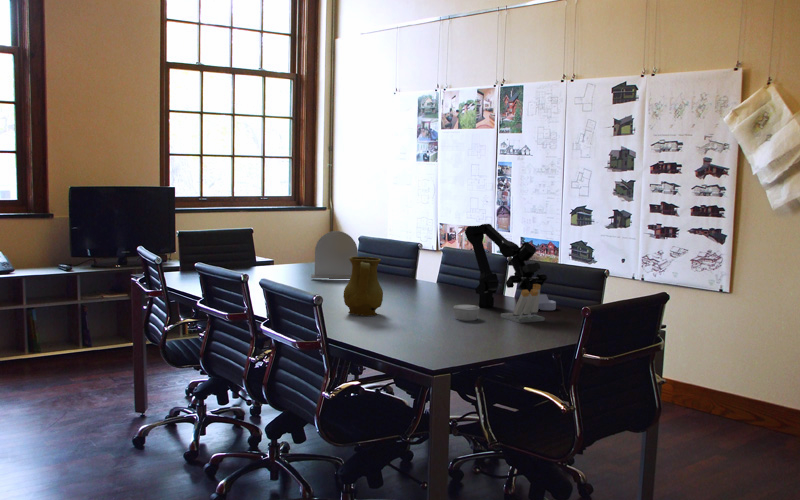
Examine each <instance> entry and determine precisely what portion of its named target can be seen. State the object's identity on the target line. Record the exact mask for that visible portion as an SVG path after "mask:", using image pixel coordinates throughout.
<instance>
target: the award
mask: <svg viewBox="0 0 800 500" xmlns="http://www.w3.org/2000/svg"><path fill="white" fill-rule="evenodd" d="M358 250H359V249H358V247H357V243H356V241H355V240H354V239H353V237H352V236H351V235H349V234H348V233H345V232H344V231H340V230H333V231H329V232H326V233H325V234H323V235H321V237H320V238H319V239H318V241H317V243H316V245H315V247H314V274H311V275H310V277H311V278H329V279H350V278H351V274H352V263H351V261H350V260H349V258H351V257H359V256H358V255H359V254H358V253H359V251H358ZM311 278H310V279H311Z"/></svg>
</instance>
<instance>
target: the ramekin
mask: <svg viewBox="0 0 800 500" xmlns="http://www.w3.org/2000/svg"><path fill="white" fill-rule="evenodd" d="M480 308H481V307H479V306H478V305H474V304H473V305H472V304H457V305H454V306H453V311H454V318H455V319H456V320H458V321H464V322H465V321H466V322H470V321H471V322H472V321H476V320H477V319H478V316H479V313H480Z"/></svg>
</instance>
